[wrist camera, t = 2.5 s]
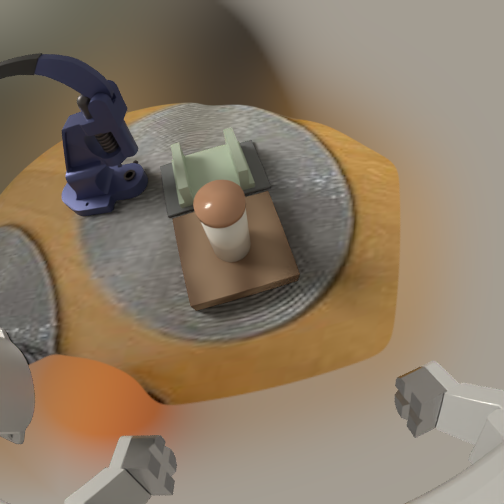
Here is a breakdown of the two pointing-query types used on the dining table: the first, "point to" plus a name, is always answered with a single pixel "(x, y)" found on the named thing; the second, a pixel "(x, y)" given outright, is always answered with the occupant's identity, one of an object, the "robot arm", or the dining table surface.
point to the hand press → (89, 135)
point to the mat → (260, 184)
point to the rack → (209, 168)
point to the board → (240, 272)
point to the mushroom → (224, 218)
